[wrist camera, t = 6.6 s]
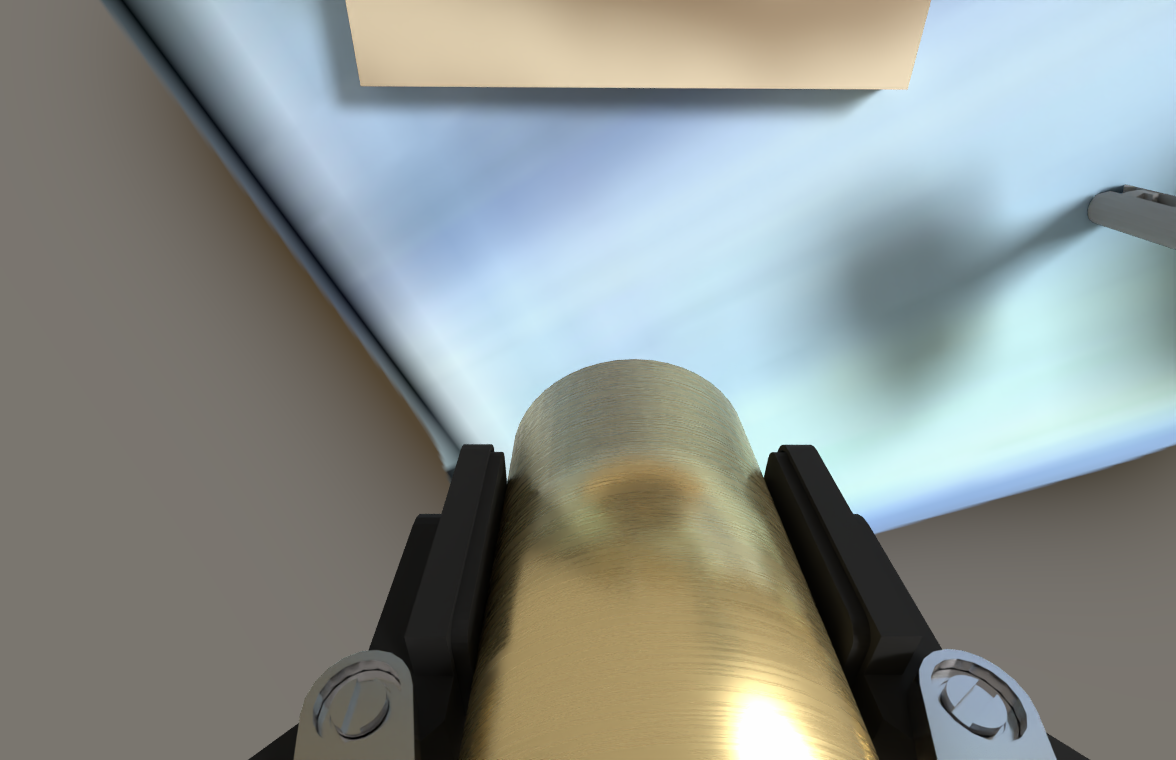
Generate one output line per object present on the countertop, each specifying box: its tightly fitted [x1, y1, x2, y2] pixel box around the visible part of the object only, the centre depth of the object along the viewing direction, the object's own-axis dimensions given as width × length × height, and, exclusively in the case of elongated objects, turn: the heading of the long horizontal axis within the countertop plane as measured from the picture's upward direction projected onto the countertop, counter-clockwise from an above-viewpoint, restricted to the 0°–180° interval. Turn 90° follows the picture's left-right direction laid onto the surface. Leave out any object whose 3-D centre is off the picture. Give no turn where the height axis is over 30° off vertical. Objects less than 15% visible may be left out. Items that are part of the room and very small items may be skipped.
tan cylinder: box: [459, 359, 879, 760], centre depth 9 cm, size 5×5×8 cm
